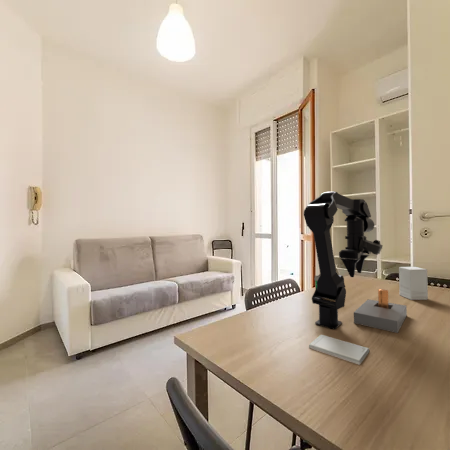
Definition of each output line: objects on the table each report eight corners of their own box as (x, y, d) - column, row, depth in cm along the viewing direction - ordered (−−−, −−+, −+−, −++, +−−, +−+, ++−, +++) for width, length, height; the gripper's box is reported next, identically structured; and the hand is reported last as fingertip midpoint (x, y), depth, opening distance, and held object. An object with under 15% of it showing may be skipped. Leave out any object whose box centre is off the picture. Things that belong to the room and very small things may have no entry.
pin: (387, 318, 88) (387, 291, 88) (377, 316, 90) (377, 290, 90) (389, 315, 90) (389, 289, 90) (379, 313, 92) (379, 288, 92)
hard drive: (369, 347, 66) (321, 333, 74) (359, 360, 60) (308, 343, 68) (369, 353, 66) (321, 339, 74) (359, 367, 60) (308, 349, 68)
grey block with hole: (397, 332, 76) (397, 321, 76) (353, 322, 84) (353, 312, 84) (406, 315, 89) (406, 305, 89) (368, 308, 98) (368, 299, 97)
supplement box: (428, 299, 106) (428, 269, 106) (410, 300, 106) (409, 269, 106) (415, 294, 114) (415, 266, 114) (398, 295, 114) (398, 266, 114)
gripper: (373, 235, 84) (374, 282, 84) (385, 232, 98) (386, 273, 98) (338, 234, 91) (338, 278, 92) (353, 232, 105) (354, 270, 105)
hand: (355, 275), depth 96 cm, fingers open, 9 cm apart
